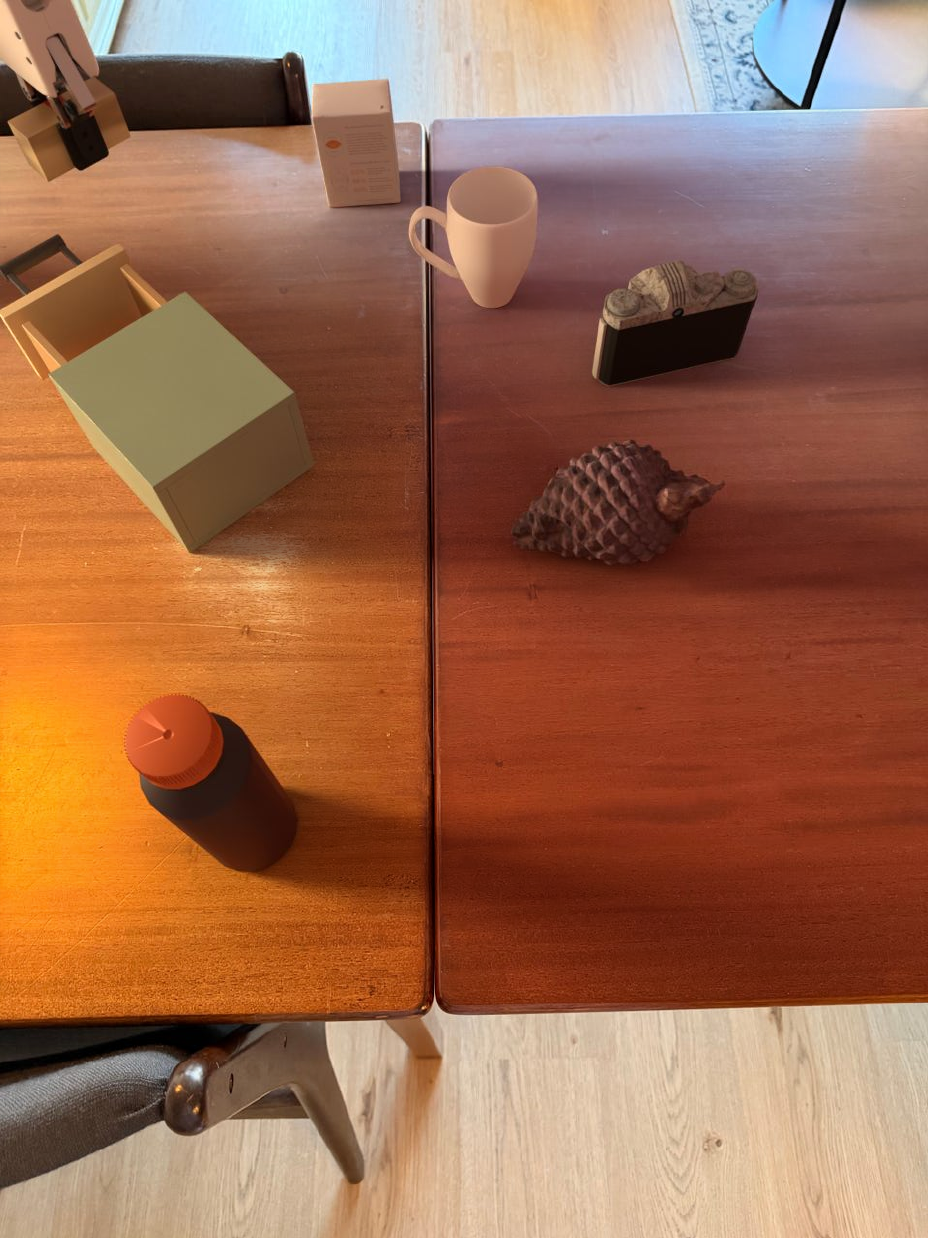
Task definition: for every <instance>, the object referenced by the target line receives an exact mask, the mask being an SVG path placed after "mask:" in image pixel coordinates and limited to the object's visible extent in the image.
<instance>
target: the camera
mask: <svg viewBox="0 0 928 1238" xmlns="http://www.w3.org/2000/svg"><path fill="white" fill-rule="evenodd" d="M758 293H759V288H758V285H757V279H756V277H755V275H754V274H753V273H752V272H751V271H748V270H746V269H742V268H735V269H731V270H729V271H727V272H726V273H725V275H721V274H720V272H719V270H718V269H717V270H713V271H708V272H703V273H698V272H697V271H696V270H695V268H693V267H692V266H691V265H688V264H685V261H683V260H677V261H673V262H672V261H671V262H667V263H663V264H658V265H654V266H651V267H649V268H646V269H643V270H642V271H640V272H639V273H638V274H636V275H635V276H633V277H631V278H629V281H628V287H627V288H617V289H614V290H613V291H612V292H611V293H608V294H606V296H605V297H604V303H603V309H602V316H601V317H600V318H599V322H598V329H597V337H596V343H595V350H594V356H593V364H592V369H591V375H592V376H593V378H594V379H595V380H597V381H598V382H600V383H601V384H603V385H604V386H607V387H614V386H618V385H622V384H626V383H627V384H628V383H631V382H636V381H641V380H645V379H648V378H653V377H657V376H662V375H667V374H671V373H676V372H680V371H684V370H689V369H694V368H697V367H702V366H705V365H710V364H714V363H719V362H724V361H728V360H733V359H735V357H736V356H737V354H739V351H740V348H741V345H742V342H743V339H744V336H745V333H746V330H747V327H748V325H749V321H750V319H751V316H752V314H753V310H754V307H755V304H756V301H757V298H758Z"/></svg>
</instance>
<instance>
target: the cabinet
mask: <svg viewBox="0 0 928 1238" xmlns="http://www.w3.org/2000/svg"><path fill="white" fill-rule="evenodd" d="M48 375H49V377H48V378H50V380H51V381H52V383H53V385H54V386H55V388H56V390H57V392H58V393H59V394H60V396H61V397H62V399H63V401H64V402H65V404H66V405H67V407H68V409H69V411H70V413H71V414H72V415H73V417H74V418H75V420H76V422H77V423H78V425H79V426H80V429H81V430H82V431H83V433H84V435H85V436H86V438H87V440H88V441H89V443H90V444H91V446H92V448H93V449H94V450H95V451H96V453H98V454H99V455H100V457H101V458H102V459H103V460H104V461H105V462H106V463H107V465H109V467H110V468H111V469H112V470H113V471H114V472H115V473H116V474H117V475H118V476H119V478H120V479H121V480H122V481H123V482H124V483H125V485H127V487H128V488H129V489H130V490H131V491H132V492H133V493H134V494H135V495H136V496H137V497H138V499H139V500H140V501H141V502H142V503H143V504H144V505H145V507H146V508H148V510H149V511H150V512H151V513H152V514H153V515H154V516H155V517H156V518H157V520H159V522H160V523H161V524H162V525H163V526H164V528H166V529H167V530H168V531H169V533H170V534H171V535H172V536H173V537H174V539H176V540H177V541H178V543H179V544H180V545H181V546H182V547H183V548H184V549H185V550H186V552H187V553H189V554H191V553H193V552H194V551H196V550H197V549H199V548H200V547H202V546H203V545H205V544H206V543H207V542H209V541H210V540H211V539H212V538H214V537H216V536H217V535H218V534H220V533H221V532H223V531H224V530H225V529H227V528H228V527H229V526H231V525H232V524H234V523H235V522H236V521H238V520H239V519H241V518H242V517H244V516H245V515H247V514H248V513H249V512H251V511H253V510H254V509H255V508H257V507H258V506H260V505H261V504H262V503H264V502H265V501H266V500H268V499H269V498H271V497H272V496H274V495H275V494H276V493H278V492H279V491H281V490H282V489H283V488H285V487H286V486H288V485H289V484H290V483H292V482H293V481H295V480H296V479H298V478H299V477H300V476H302V475H304V474H305V473H306V472H307V471H309V470H311V469H312V468H313V467H315V466H316V464H315V461H314V457H313V453H312V450H311V446H310V443H309V439H308V436H307V432H306V429H305V425H304V422H303V418H302V414H301V411H300V407H299V404H298V400H297V396H296V393H295V391H294V390H293V389H292V388H291V387H290V386H288V385H287V384H286V382H284V380H282V379H281V378H280V377H279V376H278V375H277V374H275V372H273V371H272V370H271V369H270V368H269V367H268V366H267V365H266V364H265V363H264V362H263V361H262V360H261V359H259V358H258V356H256V355H255V354H254V353H253V352H252V351H250V349H248V348H247V346H245V345H244V344H243V343H242V342H241V341H240V340H239V339H237V337H235V336H234V335H233V333H231V332H230V331H229V330H228V329H227V328H226V327H225V326H223V325H222V324H221V323H220V322H219V320H218V319H216V318H215V317H214V315H213V316H212V314H211V313H210V312H209V311H207V310H206V309H205V308H204V307H203V306H202V305H201V304H199V302H197V300H195V299H194V298H193V297H192V296H191V295H190V294H189V293H188V292H187V291H184V292H182V293H180V294H178V295H177V296H175V297H173V298H172V299H170V300H169V301H167V303H165V304H164V305H162V306H160V307H159V308H157V309H155V310H154V311H152V312H150V313H149V314H147V315H145V316H144V317H142V318H140V319H139V320H137V321H135V322H134V323H132V324H130V325H129V326H127V327H125V328H124V329H122V330H120V331H119V332H117V333H115V334H114V335H112V336H110V337H109V338H107V339H105V340H104V341H102V342H100V343H99V344H97V345H95V346H94V347H92V348H91V349H89V350H87V351H86V352H84V353H82V354H81V355H79V356H77V357H76V358H74V359H72V360H71V361H69V362H67V363H66V364H64V365H62V366H61V367H59V368H57V369H56V370H54V371H52V372H51V373H49V374H48Z"/></svg>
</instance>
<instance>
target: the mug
mask: <svg viewBox="0 0 928 1238" xmlns="http://www.w3.org/2000/svg"><path fill="white" fill-rule="evenodd" d="M538 197H539V196H538V191H537V189H536V187H535V185H534V183H533V182H532V181H531V180H530V179H529V178H528V176H526V175H525V174H523V173H521V172H520V171H518V170H515V169H512V168H510V167H505V166H496V165H493V166H492V165H489V166H482V167H476V168H473V169H471V170H468V171H466V172H464V173H463V174H461V175H460V176H458V177H457V178H456V179H455V180H454V181H453V182H452V184H451V185H450V187H449V189H448V192H447V196H446V213H444V212H443V211H441V210H439V209H437V208H435V207H433V206H430V205H423V206H420V207H418V208H417V209H416V210H415V211H414V212H413V213H412V215H411V217H410V220H409V223H408V224H409V225H408V237H409V241H410V243H411V246H412V248H413V250H414V251H415V253H416V254H417V255H418V256H419V257H420V258H422V259H423V260H424V261H425V262H427V263H428V264H429V265H431V266H432V267H434V268H435V269H437V270H438V271H440V272H442V273H443V274H445V275H446V276H448V277H450V278H452V279H456V280H462V282H463V285H464V286H465V288H466V290H467V292H468V293H469V296H470V297H471V299H472V301H473V302H474V303H475V304H477V305H478V306H480V307H481V308H482V307H483V308H485V309H497V308H501V307H503V306H505V305H507V304H508V303H510V301H511V300H512V298H513V297H514V295H515V292H516V291H517V289H518V287H519V285H520V283H521V282H522V280H523V277H524V276H525V273H526V271H527V269H528V268H529V265H530V263H531V260H532V257H533V255H534V252H535V246H536V240H537V226H538V210H539V208H538V207H539V198H538ZM425 219H426V220H431V221H433V222H435V223H436V224H438V225H439V226H441V228H443V229H444V230H445V234H446V237H447V243H448V248H449V252H450V256H451V258H452V260H453V263H454V265H452V264H450V263H448V262H447V261H446V260H444V259H442V258H440V257H439V256H438V255H436V254H435V253H433V252H432V251H430V250H429V249H428V248H427V247H425V245H424V244H422V242H421V241H420V240H419V238H418V237H417V234H416V225H417V224H418V223H419V222H421V221H422V220H425Z"/></svg>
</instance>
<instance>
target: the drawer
mask: <svg viewBox="0 0 928 1238" xmlns="http://www.w3.org/2000/svg"><path fill="white" fill-rule="evenodd" d="M64 240H65V239H63V238H62V236H61V235H60V234H59V233H56V234H54V235H53V236H51V237H49V238H48V239H46V240H44V241H42V242H40V243H39V244H37V245H35V246H33V247H32V248H29V249H27V250H26V251H24V252H22V253H20V254H18V255H17V256H15V257H13V258H11V259H10V260H8V261H6V262H4V263H3V264H1V265H0V275H1V276H2V278H3V279H4V280H5V281H6V282H9V281H10V282H11V283H12V284H13V286H15V287H16V289H18V290H19V291H20V293H21V294H22V295H23V296H22V297H21V298H18V299H17V300H15V301H13V302H12V303H10V304H8V305H6V306H4V307H3V308H1V309H0V319H1V320H2V322H3V323H4V325H5V326H6V328H7V330H8V331H9V332H10V334H11V335H12V338H13V339H14V340H15V342H16V344H17V345H18V347H19V348H20V350H21V352H22V353H23V354H24V356H25V357H26V359H27V361H28V362H29V364H30V366H31V367H32V369H33V370H34V372H35V373H36V375H37V376H38V377H39V378H40V379H41V380H42V381H45V380H46V379H48V378H50V377H49V375H48V374H49V373H51V372H52V371H54V370H56V369H57V368H59V367H61V366H62V365H64V364H66V363H67V362H69V361H71V360H72V359H74V358H76V357H77V356H79V355H81V354H82V353H84V352H86V351H87V350H89V349H91V348H92V347H94V346H95V345H97V344H99V343H100V342H102V341H104V340H105V339H107V338H109V337H110V336H112V335H114V334H115V333H117V332H119V331H120V330H122V329H124V328H125V327H127V326H129V325H130V324H132V323H134V322H135V321H137V320H139V319H140V318H142V317H144V316H145V315H147V314H149V313H150V312H152V311H154V310H155V309H157V308H159V307H160V306H162V305H164V304H165V303H167V302H168V301H167V299H166V298H164V297H163V296H162V294H160V293H159V292H158V291H157V290H156V289H155V288H154V287H153V286H151V284H149V283H148V282H147V281H146V279H144V278H143V277H142V276H141V275H140V274H139V273H138V272H137V271H136V270H135V268H134V267H133V264H132V262H131V259H130V257H129V255H128V252H127V250H126V248H125V247H124V246H123V245H121V244H120V243H119V242H117V243H115V244H114V245H112V246H110V247H108V248H106V249H105V250H103V251H101V252H100V253H98V254H96V255H94V256H92V257H91V258H89V259H87V260H86V261H84V262H83V261H82V260H81V259H80V258H79V257H78V256H77V255H76V254H75V253H73V251H72V250H71V249H70V248H68V246H67V243H66V241H64ZM59 253H61V254H63V256H65V257H66V258H67V259H68V260H69V261H70V263H72V264H73V265H74V266H75V267H73V268H71V269H70V270H67V271H66V272H64V273H62V274H60V275H59V276H57V277H55V278H54V279H52V280H50V281H48V282H47V283H45V284H43V285H42V286H39V287H38V288H35V290H32V291H31V290H30V289H29V287H27V286H26V285H25V283H23V281H22V280H21V279H20V278H19V277H18V276H19V275H21V274H23V273H25V272H26V271H29V270H31V269H33V268H34V267H37V266H38V265H39V264H42V263H43V262H45V261H46V260H48V259H50V258H52V257H53V256H55V255H58V254H59Z"/></svg>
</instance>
